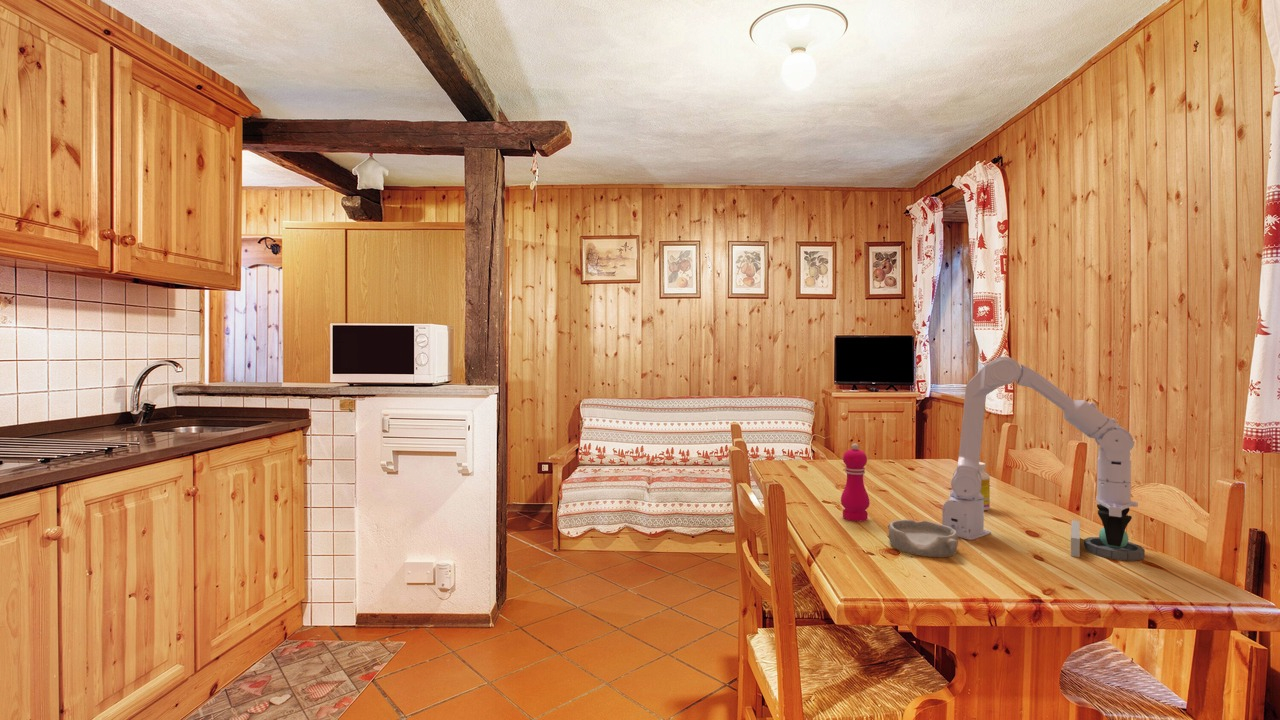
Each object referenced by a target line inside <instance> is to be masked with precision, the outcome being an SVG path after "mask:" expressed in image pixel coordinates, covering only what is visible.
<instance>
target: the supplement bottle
mask: <svg viewBox="0 0 1280 720" xmlns="http://www.w3.org/2000/svg"><path fill="white" fill-rule="evenodd" d="M985 470H986V463H985V462H982V461H979V472H980V474H981V477H982V483H981V491H980V493H981V494H982V495H983V496H984V510H985V511H988V510H990V507H991V505H990V503H991V501H990V500H991V499H990V491H991V490H990V488H991V487H990V484H991V483H990V480H991V479H990V474H989V473H988V472H986V471H985Z"/></svg>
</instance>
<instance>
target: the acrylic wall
mask: <svg viewBox="0 0 1280 720" xmlns="http://www.w3.org/2000/svg"><path fill="white" fill-rule="evenodd" d="M1080 528H1081V527H1080V520H1075V519H1072V520H1071V527H1070V556H1071V557H1075V558H1080V555H1081V554H1080V551H1081V550H1080V547H1081V546H1080V543H1081V542H1080V540H1081V539H1080V536H1081V534H1080Z"/></svg>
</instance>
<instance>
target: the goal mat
mask: <svg viewBox="0 0 1280 720" xmlns="http://www.w3.org/2000/svg"><path fill="white" fill-rule="evenodd" d="M1083 547H1084V551H1086V552H1088V553H1090V554H1093V555H1095V556H1099V557H1102V558H1106V559H1110V560H1116V561H1125V562H1138V561H1139V562H1140V561H1142V560H1144V557H1146V555H1145V548H1144V547H1142V546H1141V545H1139V544H1137V543H1134V542H1131V541H1128V543H1127V545H1126V546H1124V547H1123V548H1120V549H1113V548H1110V547H1108V546H1106V545H1104V544H1103V543H1102V541H1101V540H1100V538H1099V536H1096V537H1095V536H1093V537H1092V536H1091V537H1090V536H1088V537H1086V538H1084V539H1083Z"/></svg>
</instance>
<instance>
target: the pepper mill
mask: <svg viewBox="0 0 1280 720" xmlns="http://www.w3.org/2000/svg"><path fill="white" fill-rule="evenodd" d="M842 460H843V461H842V462H843V463H844V465H845V467H844V470H845V471H844V472H845V474H846V482H845V486H844V489H843V491H842V493H841V497H840V504H841V505H842V507H843V508H844V509H843V510H842V518H843V519H844V520H847V521H851V522H864V521H867V520H868V518H869V517H868V516H869V515H868V513H869V512H867V511H866V510H868V508H869V507H870V498H869V494H868V492H867V490H866V487H865V484H864V482H865V481H864V474H866V472H865V471H866V469H865V466H866V465H867V462H868V456H867V454H866V453H865V452H864V451H863V450H861V449H859V445H858V443H852V444H851V449H848V450H846V451H845V452H844V454H843V456H842Z"/></svg>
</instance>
